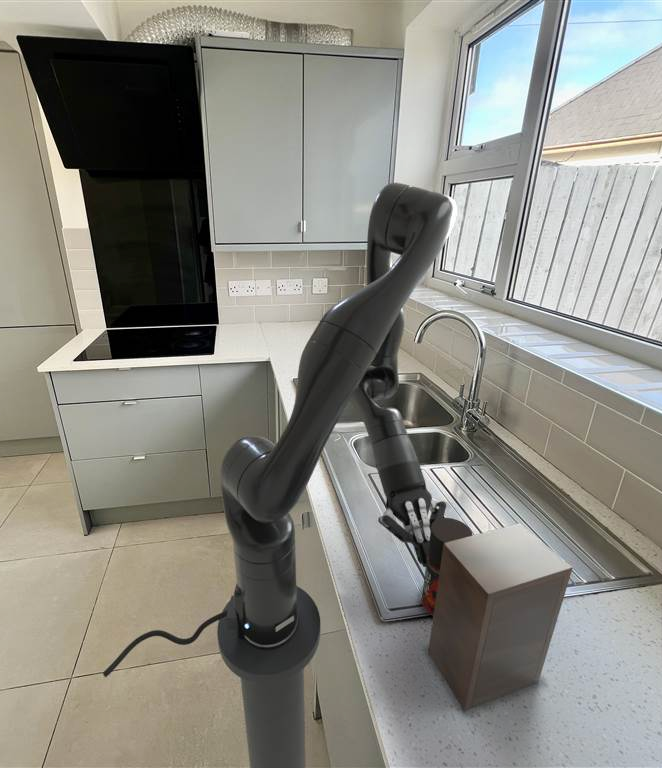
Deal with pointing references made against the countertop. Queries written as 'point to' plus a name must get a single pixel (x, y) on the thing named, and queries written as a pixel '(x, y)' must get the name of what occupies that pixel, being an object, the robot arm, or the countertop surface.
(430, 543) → the deodorant
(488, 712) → the countertop surface
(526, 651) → the tall brown cuboid
